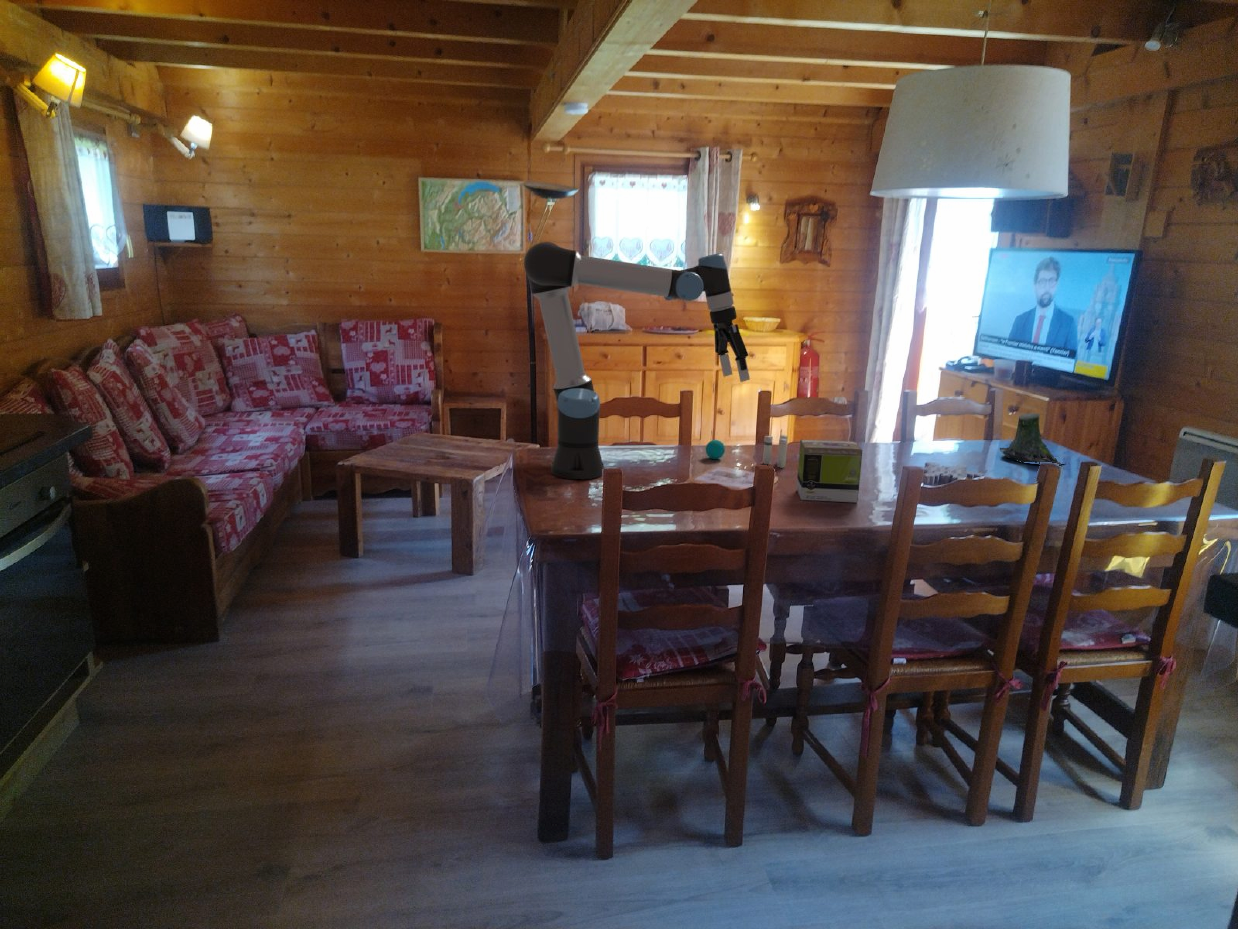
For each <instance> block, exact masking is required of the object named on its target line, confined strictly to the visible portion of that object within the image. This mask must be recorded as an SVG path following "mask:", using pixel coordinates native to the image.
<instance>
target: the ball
mask: <svg viewBox="0 0 1238 929" xmlns="http://www.w3.org/2000/svg"><path fill="white" fill-rule="evenodd" d="M725 452H726V446H725V445H724V443H723V441H721V440H718V439H713V440H710V441H709V442H708V443H707V444H706V446H705V453H706V456H708V458H710V459H712V460H718V459H721V458H722V457H723V456H724V454H725Z"/></svg>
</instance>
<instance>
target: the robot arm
mask: <svg viewBox="0 0 1238 929" xmlns="http://www.w3.org/2000/svg"><path fill="white" fill-rule="evenodd" d="M523 260H524V261H523V268H524V272H525V274H526V276H527V278H528V282H529V287H530V291H531V295H532V296H533V297H535V298H536V299H537V300H538V302H539V306H540V312H541V317H542V320H543V325H544V329H545V335H546V337H547V344H548V347H549V351H550V356H551V361H552V364H553V365H552V366H553V369H554V374H555V378H556V381H555V383H554V385H553V386H552V387H553V392H554V397H555V401H556V406H557V446H556V451H555V454H554V457H553V461H552V462H551V466H550V467H551V468H550V472H551V474H552V475H553V476H555V477H556V478H557V477H558V478H561V479H568V480H577V479H581V480H591V479H592V480H593V479H596V478H600V477H602V476H603V475H602V469H604V470H605V466H604V465H605V464H604V463H603V460H602V459H603V458H602V455H601V452H600V448H599V439H600V438H599V437H600V436H599V435H600V434H599V432H600V408H601V401H600V396H599V394H598V393H597V392H595V390H594V384H593V380H592V378H591V377H590V376H589V375H587V374H586V370H585V367H584V361H583V357H582V353H581V349H580V344H579V339H578V335H577V330H576V325H575V321H574V316H573V311H572V307H571V301H570V298H569V292H570V290H571V288H572V287H574V286H575V285H584V286H590V287H598V288H603V289H610V290H619V291H623V292H624V291H625V292H631V293H638V294H646V295H652V296H659V297H663V299H665V300H666V301H672V300H673V301H674V300H679V299H680V300H682V301H686V302H691V301H695V300H697V299H698V298H699V297H700V296H701V295H702V293H704V294H705V301H706V305H707V308H708V310H709V317H710V321H711V324H713V331H714V352H715V353H716V354H717V355H718V357H719V361H720V366H721V370H722V374H723V377H724V378H725V377H729V376H732V375H733V371H732V366H731V360H730V356H729V350H728V345H729V346H730V347H731V350H732V352H733V353H734V356H735V357H734V358H735V359H734V361H736V362H735V363H736V366H737V372H738V376H739V381H740V383H743V382H746V381H749V380H750V379H751V378H750V373H749V369H748V368H749V367H748V364H747V360H746V358H747V357H748V356H749V353H748V351H747V348H746V345H745V342H744V340H743V337H742V334H741V332H740V328H739V324H737V323H735V324H733V321H734V320H736V319H737V317H738V316H737V312H736V311H737V310H736V307H735V306H734V303H735V302H734V298H733V297H734V293H733V292H732V288H731V283H730V279H729V273H728V272H729V271H728V267H727V264H726V260H725V257H724V254H722V253H719V252H718V253H713V254H708V255H705V256H702V257H699V258H698V259H697V260H698V263H697V264H698V265H695V266H693V267H690V268H685V269H680V270H679V269H671V268H667V267H666V268H665V267H659V266H652V265H646V264H639V263H634V262H626V261H621V260H615V259H614V260H613V259H607V258H600V257H594V256H587V255H581V254H580V253H579V251H577V250H574V249H567V248H564V247H561V246H559V245H558V244H556V243H554V242H551V241H550V242H549V241H544V242H543V241H541V242H539V243H536V244H534V245H532V246H531V247H529V249H528V250H527V252H526V253H525V256H524V259H523ZM728 343H729V344H728Z"/></svg>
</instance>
